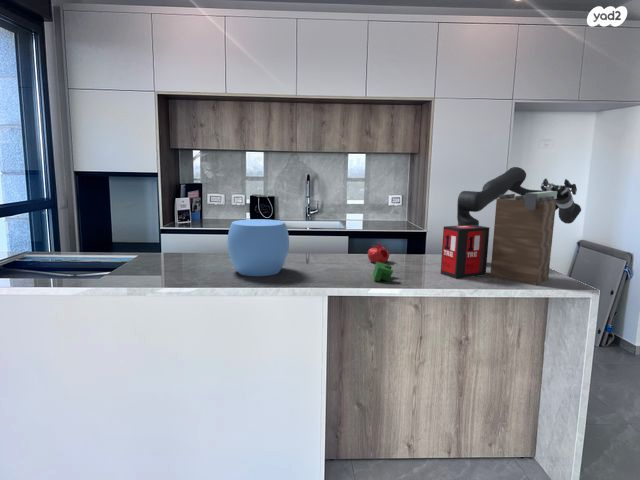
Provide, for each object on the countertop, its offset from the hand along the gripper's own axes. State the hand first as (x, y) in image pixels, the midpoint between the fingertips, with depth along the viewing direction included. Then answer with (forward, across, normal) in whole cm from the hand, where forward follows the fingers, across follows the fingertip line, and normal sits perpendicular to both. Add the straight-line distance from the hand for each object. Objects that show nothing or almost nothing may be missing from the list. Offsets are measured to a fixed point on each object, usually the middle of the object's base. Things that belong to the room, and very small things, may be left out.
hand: (555, 180), depth 207 cm
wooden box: (+10, 0, +50) cm, 51 cm away
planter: (+71, -79, +86) cm, 137 cm away
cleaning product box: (+19, -19, +56) cm, 62 cm away
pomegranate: (+25, -57, +60) cm, 87 cm away
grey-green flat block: (+22, +5, +20) cm, 30 cm away
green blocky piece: (+46, -37, +72) cm, 93 cm away
